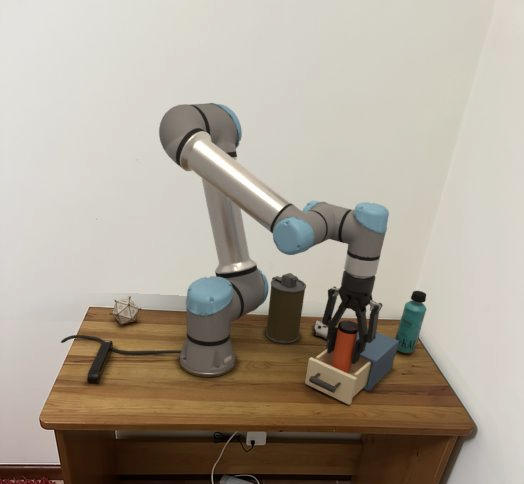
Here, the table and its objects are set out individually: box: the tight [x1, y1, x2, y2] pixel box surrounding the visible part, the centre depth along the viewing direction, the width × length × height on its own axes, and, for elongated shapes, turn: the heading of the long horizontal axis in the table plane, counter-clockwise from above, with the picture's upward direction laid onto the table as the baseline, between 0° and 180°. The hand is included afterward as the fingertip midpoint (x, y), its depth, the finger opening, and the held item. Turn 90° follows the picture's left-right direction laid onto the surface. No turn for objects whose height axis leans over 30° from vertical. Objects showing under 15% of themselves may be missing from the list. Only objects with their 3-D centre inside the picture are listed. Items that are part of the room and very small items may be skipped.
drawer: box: [304, 348, 373, 406], centre depth 127 cm, size 18×13×8 cm
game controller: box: [312, 319, 328, 341], centre depth 155 cm, size 10×5×6 cm
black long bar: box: [87, 339, 114, 384], centre depth 129 cm, size 18×3×3 cm, turn 2°
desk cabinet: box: [325, 327, 399, 392], centre depth 137 cm, size 15×15×10 cm
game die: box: [108, 295, 142, 328], centre depth 148 cm, size 9×8×10 cm
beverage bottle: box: [394, 290, 428, 354], centre depth 145 cm, size 6×7×20 cm
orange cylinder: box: [331, 320, 358, 374], centre depth 125 cm, size 5×5×17 cm
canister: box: [265, 272, 307, 344], centre depth 147 cm, size 11×10×20 cm
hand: (342, 356), depth 125 cm, fingers open, 6 cm apart
